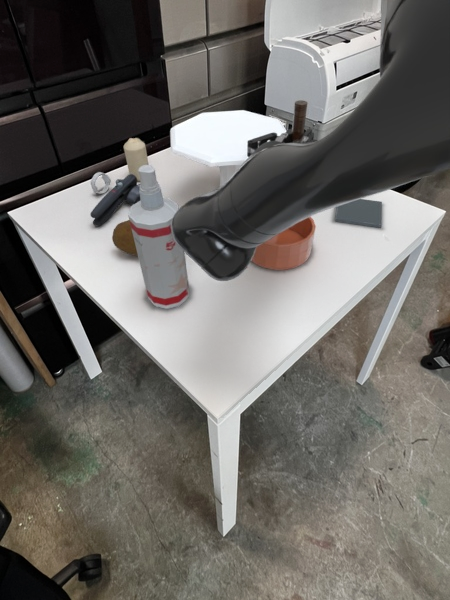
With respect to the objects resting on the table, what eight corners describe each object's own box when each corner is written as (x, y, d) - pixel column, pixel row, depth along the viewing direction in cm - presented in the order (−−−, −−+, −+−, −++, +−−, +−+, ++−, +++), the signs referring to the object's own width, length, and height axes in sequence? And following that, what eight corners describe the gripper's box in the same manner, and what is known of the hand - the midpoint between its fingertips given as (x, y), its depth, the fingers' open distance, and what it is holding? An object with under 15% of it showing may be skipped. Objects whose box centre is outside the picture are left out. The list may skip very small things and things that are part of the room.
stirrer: (304, 179, 70) (315, 99, 60) (300, 189, 68) (312, 107, 58) (283, 176, 71) (290, 97, 61) (279, 187, 68) (286, 105, 58)
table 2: (195, 167, 105) (190, 103, 93) (294, 178, 99) (302, 113, 87) (156, 222, 86) (143, 152, 74) (275, 240, 81) (282, 168, 69)
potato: (116, 241, 82) (107, 211, 76) (172, 235, 83) (168, 204, 77) (115, 265, 76) (105, 234, 71) (175, 258, 77) (171, 227, 72)
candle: (136, 183, 99) (128, 146, 92) (126, 175, 102) (118, 139, 95) (154, 176, 101) (148, 140, 94) (144, 169, 104) (137, 133, 97)
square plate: (380, 204, 90) (381, 201, 89) (380, 228, 83) (381, 225, 83) (338, 198, 92) (339, 196, 91) (335, 221, 85) (335, 218, 85)
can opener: (130, 188, 97) (125, 168, 93) (151, 194, 95) (148, 174, 91) (83, 223, 87) (75, 202, 83) (106, 231, 84) (99, 210, 80)
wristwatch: (113, 188, 97) (108, 171, 94) (99, 197, 94) (94, 179, 91) (105, 186, 98) (100, 168, 95) (91, 195, 95) (86, 176, 92)
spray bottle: (151, 279, 73) (124, 156, 55) (189, 278, 73) (175, 155, 55) (146, 309, 67) (114, 183, 49) (187, 308, 67) (170, 181, 49)
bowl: (314, 233, 82) (319, 210, 78) (305, 275, 73) (310, 251, 69) (252, 224, 85) (253, 200, 81) (236, 263, 76) (236, 239, 72)
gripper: (314, 162, 50) (346, 116, 61) (222, 144, 54) (267, 105, 65) (306, 210, 55) (337, 161, 66) (223, 190, 60) (264, 147, 70)
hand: (302, 133), depth 65 cm, fingers closed on stirrer, 2 cm apart
